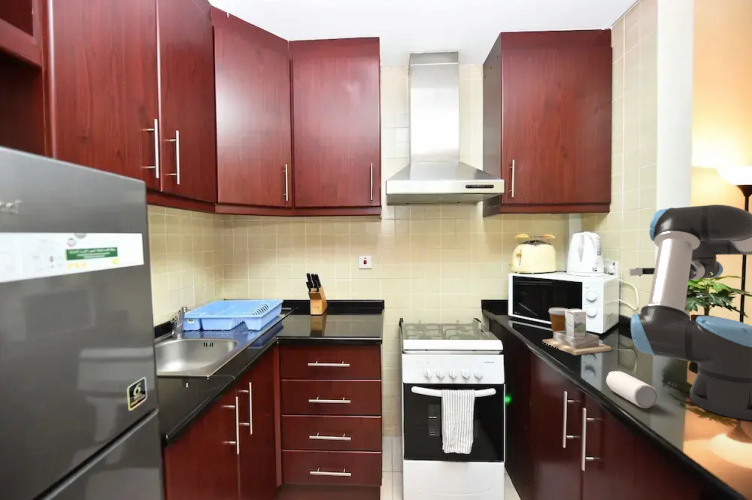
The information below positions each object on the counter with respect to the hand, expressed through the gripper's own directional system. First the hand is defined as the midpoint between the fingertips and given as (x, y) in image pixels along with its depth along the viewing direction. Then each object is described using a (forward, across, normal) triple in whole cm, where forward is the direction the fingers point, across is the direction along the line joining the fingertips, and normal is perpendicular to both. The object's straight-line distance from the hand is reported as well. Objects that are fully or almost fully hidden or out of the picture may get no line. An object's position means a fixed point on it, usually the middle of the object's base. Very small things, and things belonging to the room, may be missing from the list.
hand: (646, 273), depth 132 cm
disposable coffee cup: (+7, +38, -32) cm, 50 cm away
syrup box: (+17, +18, -31) cm, 39 cm away
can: (+43, -32, -29) cm, 61 cm away
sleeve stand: (+17, +18, -32) cm, 40 cm away
